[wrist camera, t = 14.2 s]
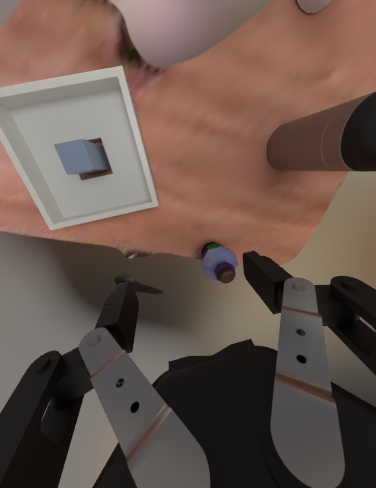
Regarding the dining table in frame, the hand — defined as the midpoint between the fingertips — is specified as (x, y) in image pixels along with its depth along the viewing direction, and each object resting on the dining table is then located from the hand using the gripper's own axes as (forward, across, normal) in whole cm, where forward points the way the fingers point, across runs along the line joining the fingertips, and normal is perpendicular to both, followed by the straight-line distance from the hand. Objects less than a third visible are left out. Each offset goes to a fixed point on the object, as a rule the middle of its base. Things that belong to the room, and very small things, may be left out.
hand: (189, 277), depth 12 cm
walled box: (+30, +12, -11) cm, 34 cm away
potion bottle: (+30, -8, +15) cm, 35 cm away
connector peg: (+30, +12, -11) cm, 34 cm away
